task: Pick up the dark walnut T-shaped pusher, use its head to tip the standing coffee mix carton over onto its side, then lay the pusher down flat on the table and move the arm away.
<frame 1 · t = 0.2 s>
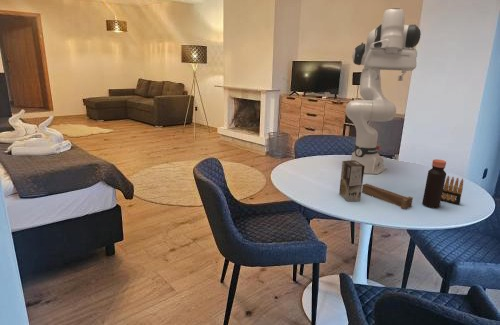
hand: (388, 80, 140), 52 cm above the table, tool tilted 20°, fingers open, 8 cm apart
ammunition clip: (445, 201, 150), on the table
coffee box: (349, 197, 152), on the table
walnut pusher: (382, 199, 151), on the table
bottle: (430, 205, 146), on the table
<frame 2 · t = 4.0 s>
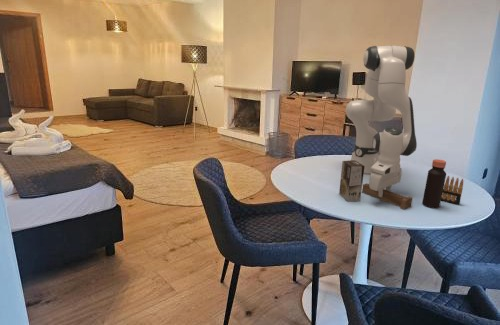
hand: (383, 195, 151), 2 cm above the table, tool pointing down, fingers closed on walnut pusher, 3 cm apart
walnut pusher: (382, 198, 151), on the table, touching gripper
everything else where it was.
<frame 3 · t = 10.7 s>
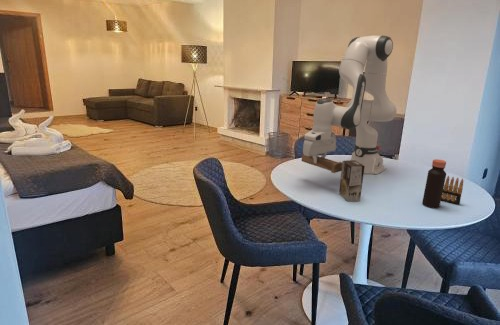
hand: (318, 162, 163), 12 cm above the table, tool pointing down, fingers closed on walnut pusher, 3 cm apart
walnut pusher: (318, 165, 163), point 10 cm above the table, touching gripper
everything else where it was.
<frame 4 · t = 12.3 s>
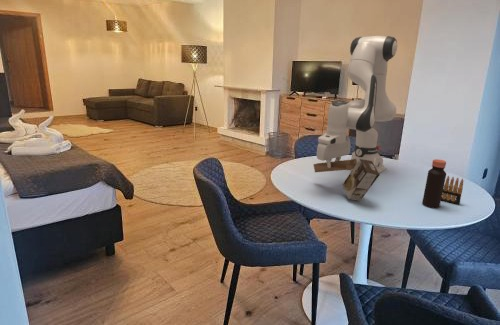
hand: (332, 166, 157), 12 cm above the table, tool pointing down, fingers closed on walnut pusher, 3 cm apart
coffee box: (350, 192, 151), point 2 cm above the table, touching walnut pusher
walnut pusher: (333, 170, 157), point 10 cm above the table, tilted 20°, touching coffee box, gripper
everything else where it was.
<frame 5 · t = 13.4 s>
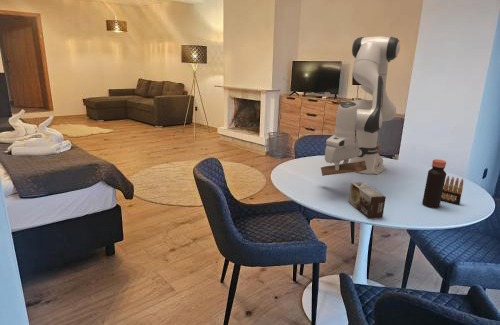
hand: (340, 169, 153), 12 cm above the table, tool pointing down, fingers closed on walnut pusher, 3 cm apart
coffee box: (355, 191, 146), point 5 cm above the table
walnut pusher: (341, 173, 153), point 10 cm above the table, tilted 21°, touching gripper
everything else where it was.
when the fingers open (3 cm above the table, at t = 17.6 s): walnut pusher stays where it is, on the table.
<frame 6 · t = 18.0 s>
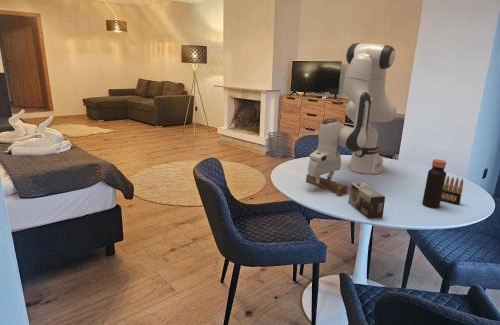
hand: (323, 181, 162), 3 cm above the table, tool pointing down, fingers open, 7 cm apart
walnut pusher: (323, 187, 163), on the table
everything else where it was.
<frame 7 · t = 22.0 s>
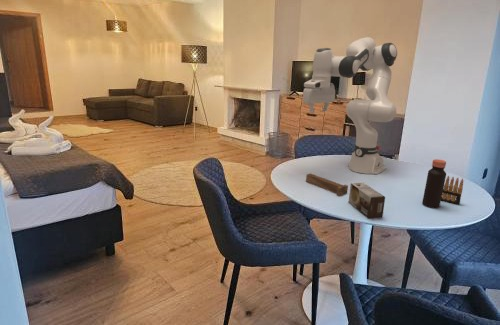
hand: (318, 112, 167), 34 cm above the table, tool pointing down, fingers open, 8 cm apart
nothing on the table moved.
at the end: coffee box tilted 91°; the gripper is holding nothing; walnut pusher inside the target area (0.1 cm from its centre), on the table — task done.
